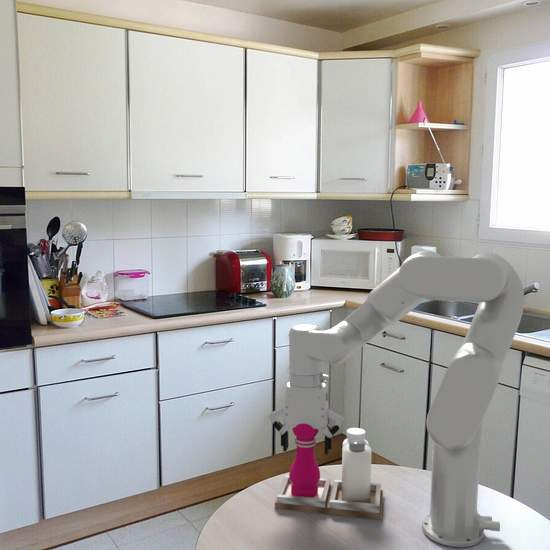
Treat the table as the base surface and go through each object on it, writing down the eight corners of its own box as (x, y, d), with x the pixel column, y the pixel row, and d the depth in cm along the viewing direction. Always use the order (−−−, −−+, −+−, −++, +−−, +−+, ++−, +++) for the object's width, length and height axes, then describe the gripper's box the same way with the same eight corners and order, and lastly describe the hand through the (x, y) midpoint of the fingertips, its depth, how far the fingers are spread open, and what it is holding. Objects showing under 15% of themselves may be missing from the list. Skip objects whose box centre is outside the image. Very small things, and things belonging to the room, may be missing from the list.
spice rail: (382, 495, 149) (383, 484, 149) (381, 519, 139) (381, 506, 138) (283, 486, 154) (283, 474, 154) (274, 508, 143) (274, 496, 143)
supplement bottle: (372, 478, 158) (374, 429, 157) (361, 488, 153) (363, 438, 151) (348, 471, 162) (349, 424, 160) (337, 481, 156) (338, 432, 155)
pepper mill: (317, 501, 143) (319, 417, 140) (286, 498, 144) (287, 415, 141) (321, 487, 150) (323, 406, 147) (291, 484, 151) (292, 404, 149)
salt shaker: (371, 493, 147) (372, 437, 146) (369, 507, 141) (370, 449, 139) (342, 490, 149) (343, 435, 147) (340, 504, 142) (341, 447, 140)
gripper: (345, 376, 145) (345, 446, 148) (272, 372, 149) (272, 441, 151) (342, 385, 138) (342, 460, 140) (265, 382, 141) (266, 454, 144)
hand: (306, 450), depth 146 cm, fingers open, 9 cm apart
